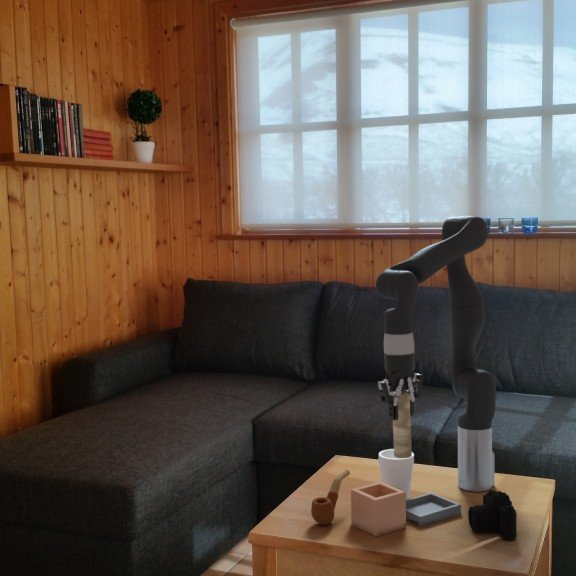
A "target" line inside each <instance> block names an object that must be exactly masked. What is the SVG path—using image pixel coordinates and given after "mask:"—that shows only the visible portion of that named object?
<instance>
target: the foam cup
mask: <svg viewBox="0 0 576 576" xmlns="http://www.w3.org/2000/svg"><path fill="white" fill-rule="evenodd" d="M414 463H415V453H414V452H412V456H411V457H409V458H397V457H395V456H394V448H389V449H384V450H381V451H379V452H378V465H379V469H380V475H381V482H383V483H385V484H387V485H390V486H392V487H395V488H397V489H400V490H402V491H404V492H406V500H407V499H410V493H411V492H410V490H411V482H412V475H413V467H414Z"/></svg>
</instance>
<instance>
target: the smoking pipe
mask: <svg viewBox="0 0 576 576" xmlns="http://www.w3.org/2000/svg"><path fill="white" fill-rule="evenodd" d="M350 474H351V472H350V470H349V469H344V471H342V472H341V473H339V474H338V475H337V476H336V477H334V479H333V481H332V483H331V485H330V488H329V491H328V493H327V496H326V497H325V496H320V497H316V498H314V499H312V502H311V510H310V511H311V512H310V513H311V517H312V519H313V520H314V521H315V523H317V524H319V525H321V526H327V525H330V524H331V523H332V522H333V521H334V518H335V509H336V505H337V501H338V498H339V493H340V492H339V491H340V487H341V484H342V482H343V480H344V479H345V478H347V477H349V476H350Z"/></svg>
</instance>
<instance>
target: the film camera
mask: <svg viewBox="0 0 576 576" xmlns="http://www.w3.org/2000/svg"><path fill="white" fill-rule="evenodd" d="M482 497H483V499H482V504H479V505H478V504H476V505H474V506H470V507H469V508H468V512H467V513H468V518H467V519H468V522H469V523H468V524H469V526H470V529H471V530H472V531H474V532H475V531H476V532H480V533H481V532H491V533H494V534H496V533H497V534H498V535H500V537H501V538H502V539H504V540H507V541H512V540H515V539H517V536H518V534H517V517H518V516H517V510H516V509H515V507H514V505H513V502H512V500H511V498H510V496H509V494H507V493H506V492H502V491H501V490H499V491H497V490H493V489H489V490H488V492H486V493H485V494H483V495H482Z"/></svg>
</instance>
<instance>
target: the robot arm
mask: <svg viewBox="0 0 576 576" xmlns="http://www.w3.org/2000/svg"><path fill="white" fill-rule="evenodd" d="M488 234H489V230H488V225H487V223H486V221H485V220H484V219H483V218H482V217H480V216H477V215H463V216H462V215H461V216H449V217H446V219H445V220H444V221H443V224H442V228H441V239H442V240H440V241H439V242H436V243H433V244H431V245H428V246H426V247H424V248H422V249H420V250H418V251H417V252H416V253H414V254H413V255H411V256H410V257H408V258H407V259H406V260H404V261H401V262H399V263H397V264H396V263H395V264H394V265H392V266H390V267H387V268H386V269H384V270H382V271H381V272H380V273H379V274H378V276H377V278H376V281H375V290H376V292H377V294H378V295H379V296H380V297H382V298H384V299H389V300H390V299H391V300H396V304H395V307H394V308H388V309H387V310H385V311H384V314H383V332H384V335H383V336H384V337H383V355H384V356H383V357H384V369H385V371H386V375H385V377H384V379H383V380H382V381H377V382H376V388H377V390H378V394H379V398H380V401H381V403H382V404H385V405H388V417H389V419H390V420H391V421H393V420H398V406H397V402H398V397H400V393H401V391H403V392H408V393H409V394H410V418H411V417H413V416H414V413H415V406H414V405H415V400H416V399H419V398H420V397H421V393H422V388H423V382H424V374H420V373H415V371H414V370H415V369H416V358H415V357H416V355H415V354H416V353H415V339H414V327H413V326H414V325H413V315H414V310H415V306H416V301H417V297H418V294H419V292H418V291H419V284H422V283H425V282H426V281H427V280H429V279H430V278H431V277H432V276H433V275H435V274H437V273H438V272H439V271H440V270H441V269H443V268H445V267H446V274H447V284H448V285H447V286H448V293H449V296H448V297H449V298H448V299H449V301H448V302H449V313H450V318H449V319H450V323H451V327H450V328H451V343H452V344H451V345H452V361H451V363H452V367H451V385H452V390H453V391H454V394H455V395H456V396H457V397H458V398H459V399H463V400H465V401H466V402H467V403H466V412H463V413H460V414H459V415H458V416H457V486H458V488H460V489H462V490H465V491H469V492H486V491H490V490H492V488H493V487H494V486H495V452H494V451H493V420H494V418H495V415H496V402H497V401H496V399H497V383H496V381H495V378H494V376H493V374H491V373H490V372H489V371H486V370H483V369H479V368H478V366H477V358H476V357H477V356H476V354H477V353H476V349H477V345H478V341H479V338H480V337H481V334H482V332H483V329H484V326H485V322H486V321H485V320H486V315H485V301H484V296H483V292H482V291H481V289H480V288H479V285H478V284H477V283H476V281H475V279H474V278H473V276H472V274H471V273H470V271H469V269H468V266H467V263H466V255H468V254H470V253H473V252H474V251H476V250H479V249H481V248H482V247H483V246H484V245H485V243H486V241H487V239H488V236H489V235H488ZM394 392H395V393H394ZM392 396H393V397H392ZM392 399H393V400H392Z"/></svg>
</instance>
